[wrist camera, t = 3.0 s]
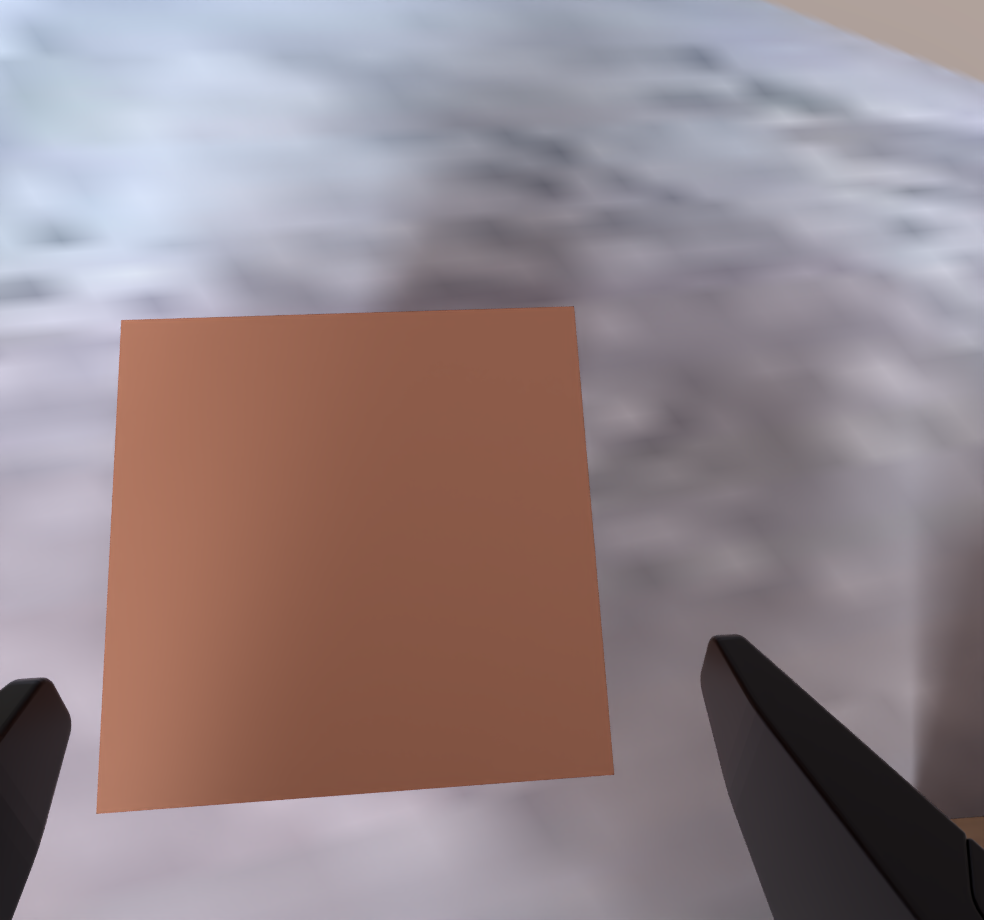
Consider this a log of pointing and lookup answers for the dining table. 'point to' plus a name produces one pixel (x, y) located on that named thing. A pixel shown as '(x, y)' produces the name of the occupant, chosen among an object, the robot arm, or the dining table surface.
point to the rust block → (349, 559)
